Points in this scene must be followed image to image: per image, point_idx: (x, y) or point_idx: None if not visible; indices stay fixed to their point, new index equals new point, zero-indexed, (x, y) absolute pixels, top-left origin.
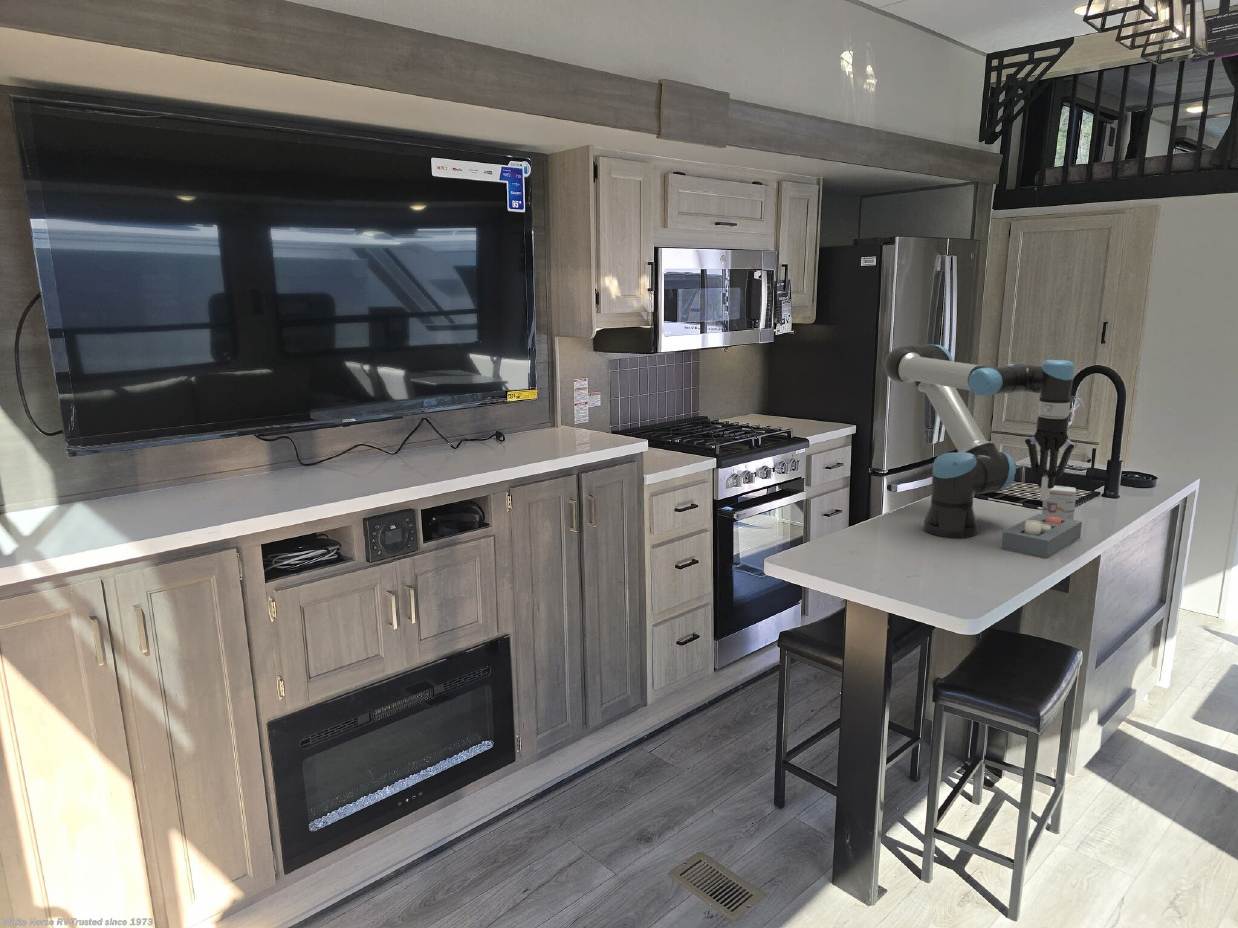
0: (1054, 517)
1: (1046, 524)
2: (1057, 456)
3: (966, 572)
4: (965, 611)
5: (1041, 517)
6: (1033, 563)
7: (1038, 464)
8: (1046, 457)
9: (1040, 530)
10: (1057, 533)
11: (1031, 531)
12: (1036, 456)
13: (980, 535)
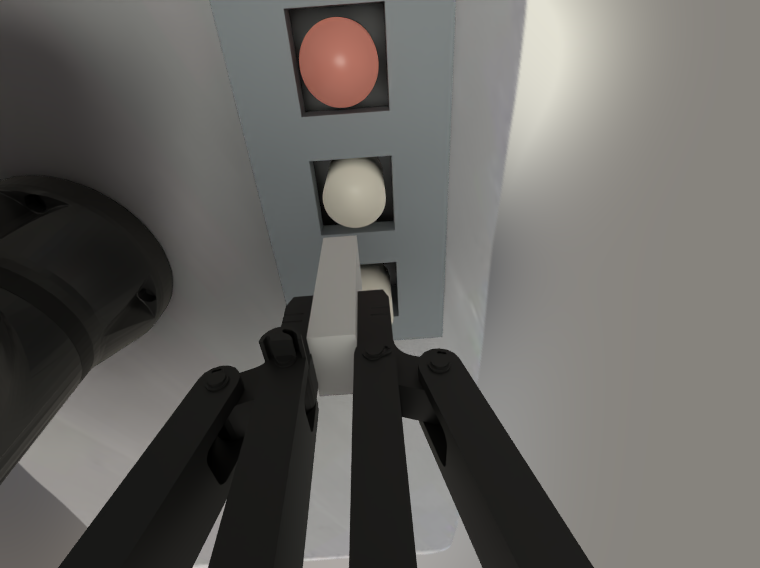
0: (340, 54)
1: (354, 168)
2: (415, 564)
3: (350, 459)
4: (433, 539)
5: (262, 32)
6: (422, 351)
7: (211, 436)
8: (288, 557)
9: (391, 296)
10: (435, 248)
11: None
12: (157, 556)
13: (172, 238)
